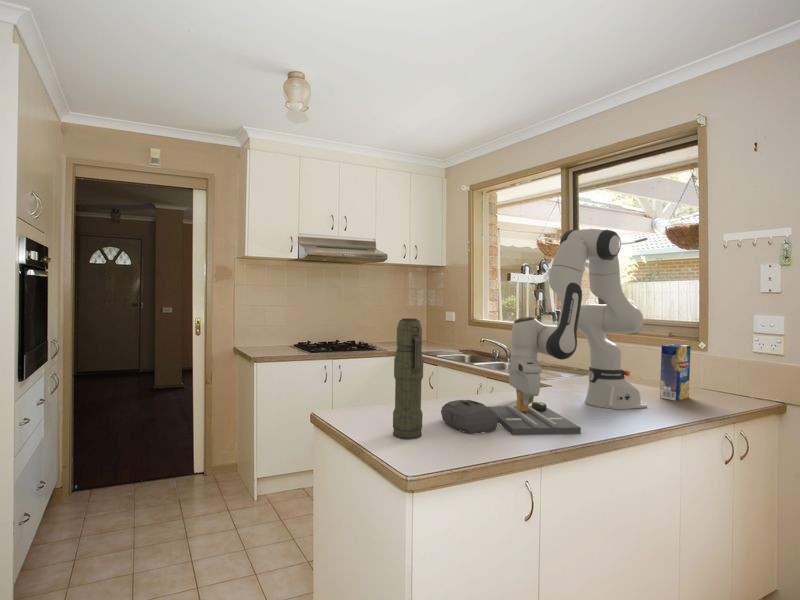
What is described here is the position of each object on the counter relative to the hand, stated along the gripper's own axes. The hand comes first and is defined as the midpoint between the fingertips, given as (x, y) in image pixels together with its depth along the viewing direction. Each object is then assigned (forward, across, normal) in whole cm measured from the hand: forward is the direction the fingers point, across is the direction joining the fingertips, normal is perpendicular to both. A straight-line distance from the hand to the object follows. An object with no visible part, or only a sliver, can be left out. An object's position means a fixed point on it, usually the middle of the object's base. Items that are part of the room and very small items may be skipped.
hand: (522, 403), depth 175 cm
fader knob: (+2, 0, 0) cm, 2 cm away
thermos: (+5, +19, -43) cm, 47 cm away
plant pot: (+5, -23, +10) cm, 26 cm away
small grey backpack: (+5, +9, -22) cm, 24 cm away
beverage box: (+5, -28, +77) cm, 82 cm away
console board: (+5, +7, 0) cm, 8 cm away
